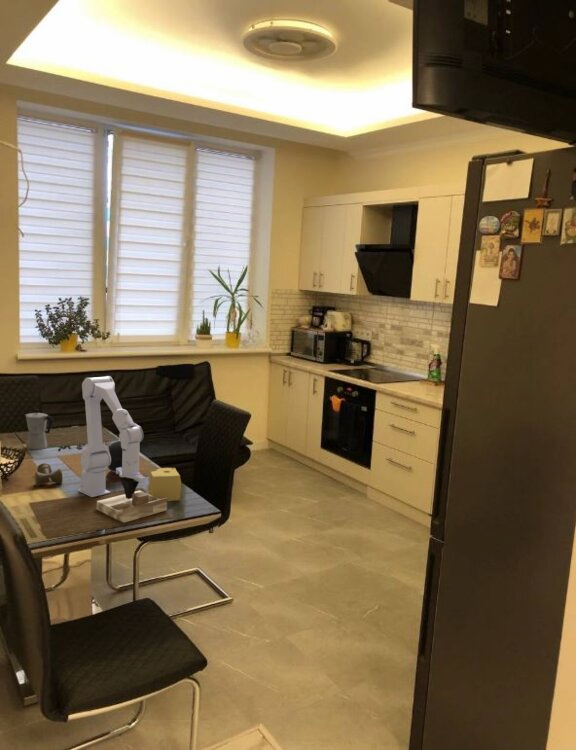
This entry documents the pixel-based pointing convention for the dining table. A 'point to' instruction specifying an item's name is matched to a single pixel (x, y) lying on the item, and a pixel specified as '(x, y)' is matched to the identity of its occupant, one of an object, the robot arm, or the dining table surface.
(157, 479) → the cheese
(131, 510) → the divided wooden tray
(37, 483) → the kendama
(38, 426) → the coffeepot
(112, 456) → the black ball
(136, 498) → the walnut cube
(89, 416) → the robot arm
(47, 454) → the dining table surface
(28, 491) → the dining table surface
